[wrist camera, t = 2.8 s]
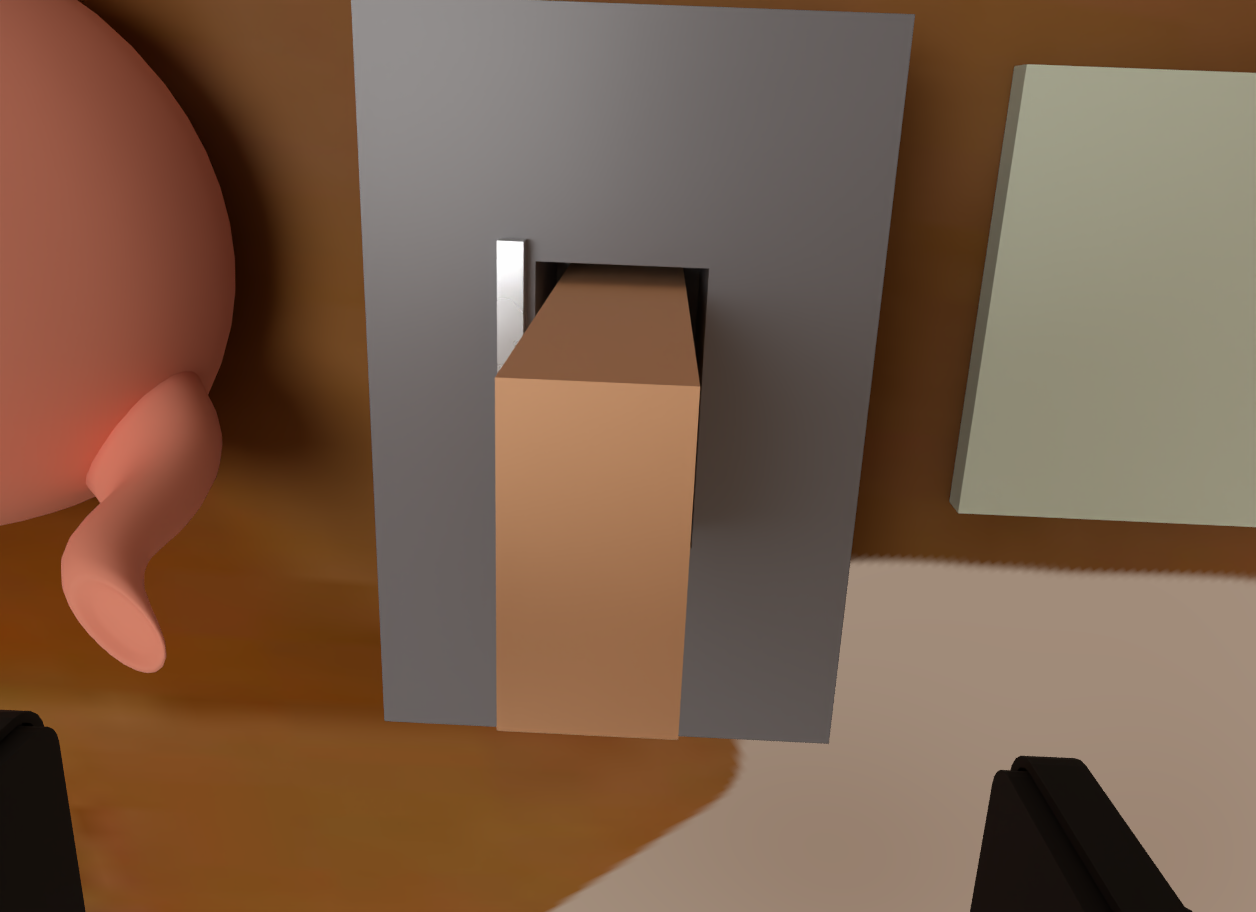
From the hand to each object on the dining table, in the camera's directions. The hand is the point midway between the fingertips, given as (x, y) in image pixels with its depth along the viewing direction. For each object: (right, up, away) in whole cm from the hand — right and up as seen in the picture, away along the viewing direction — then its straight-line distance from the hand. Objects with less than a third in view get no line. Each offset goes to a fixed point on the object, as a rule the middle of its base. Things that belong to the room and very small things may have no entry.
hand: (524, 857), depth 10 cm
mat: (+18, +8, +20) cm, 28 cm away
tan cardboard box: (+1, +7, +19) cm, 20 cm away
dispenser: (+1, +7, +21) cm, 22 cm away
